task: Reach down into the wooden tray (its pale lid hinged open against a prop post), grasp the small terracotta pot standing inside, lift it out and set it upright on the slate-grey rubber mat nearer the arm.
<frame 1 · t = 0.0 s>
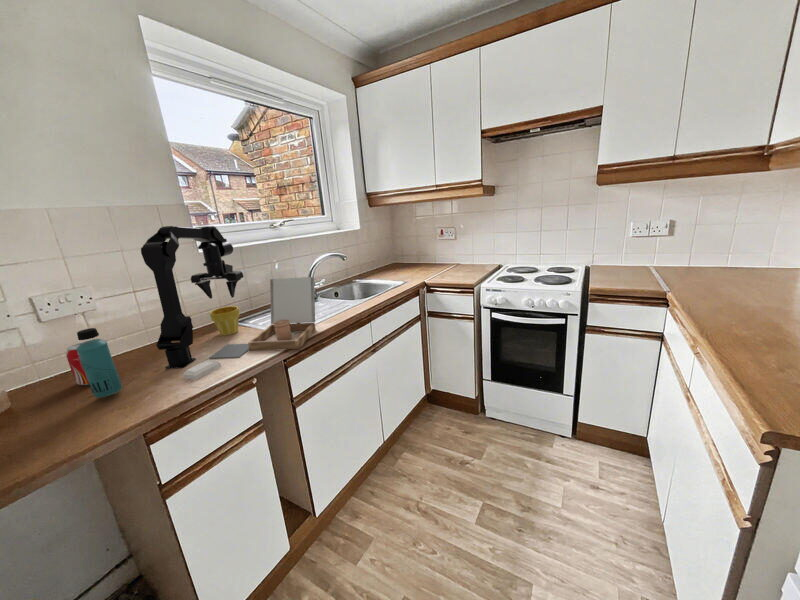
hand: (222, 297, 135), 15 cm above the worktop, fingers open, 9 cm apart
grey mat: (233, 351, 119), on the worktop
frame lid: (292, 300, 135), point 12 cm above the worktop, hinge at 110.0°
soda can: (92, 381, 104), on the worktop
soap bar: (203, 373, 105), on the worktop
wooden tray: (284, 339, 126), on the worktop
clay pot: (283, 330, 125), in the wooden tray
plant pot: (229, 332, 138), on the worktop
prop post: (298, 326, 140), on the worktop
beverage bottle: (110, 397, 94), on the worktop
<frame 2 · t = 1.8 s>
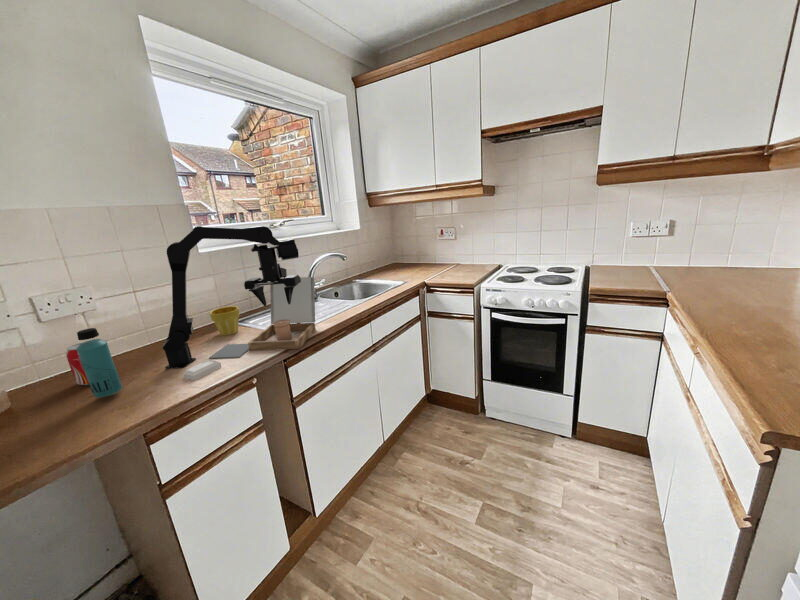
hand: (277, 304, 122), 14 cm above the worktop, fingers open, 9 cm apart
nothing on the worktop moved.
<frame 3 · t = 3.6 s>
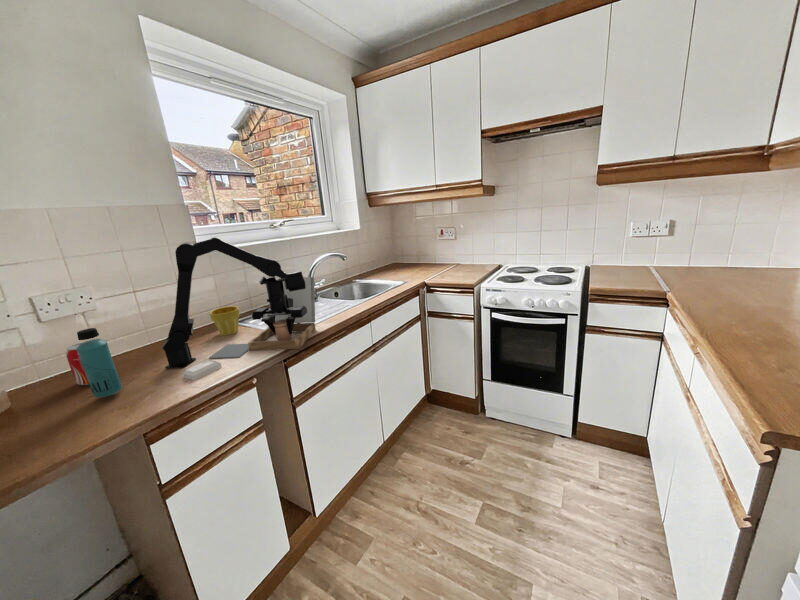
hand: (283, 334, 125), 2 cm above the worktop, fingers closed on clay pot, 5 cm apart
clay pot: (283, 330, 125), in the wooden tray, touching gripper
everything else where it was.
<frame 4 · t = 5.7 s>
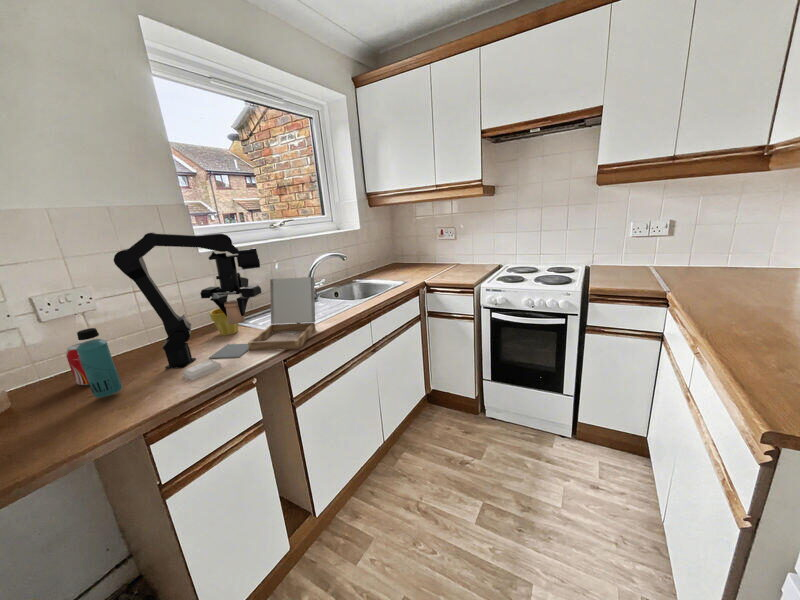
hand: (235, 315, 117), 12 cm above the worktop, fingers closed on clay pot, 5 cm apart
clay pot: (235, 311, 116), point 14 cm above the worktop, touching gripper
everything else where it was.
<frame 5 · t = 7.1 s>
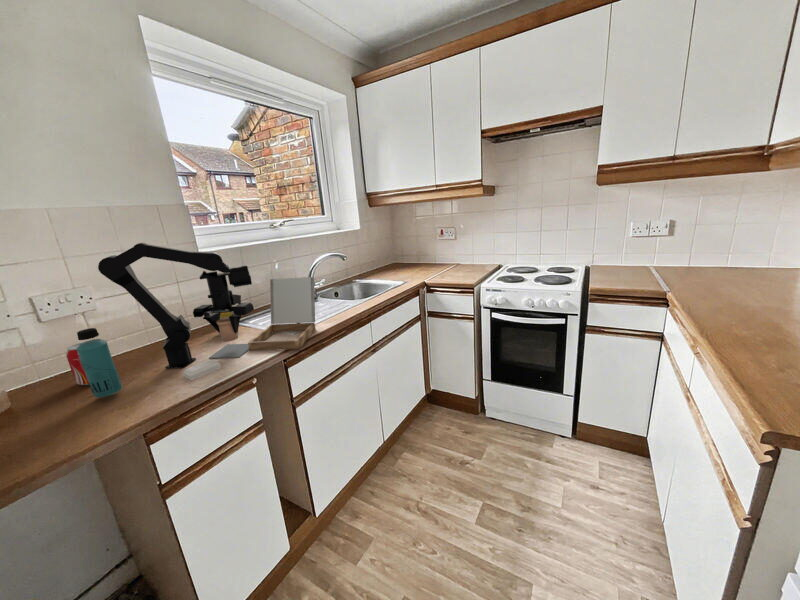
hand: (228, 333, 117), 7 cm above the worktop, fingers closed on clay pot, 5 cm apart
clay pot: (227, 329, 117), point 8 cm above the worktop, touching gripper
everything else where it was.
when the fingers open (3 cm above the worktop, at t = 8.1 s): clay pot drops 1 cm, resting on grey mat.
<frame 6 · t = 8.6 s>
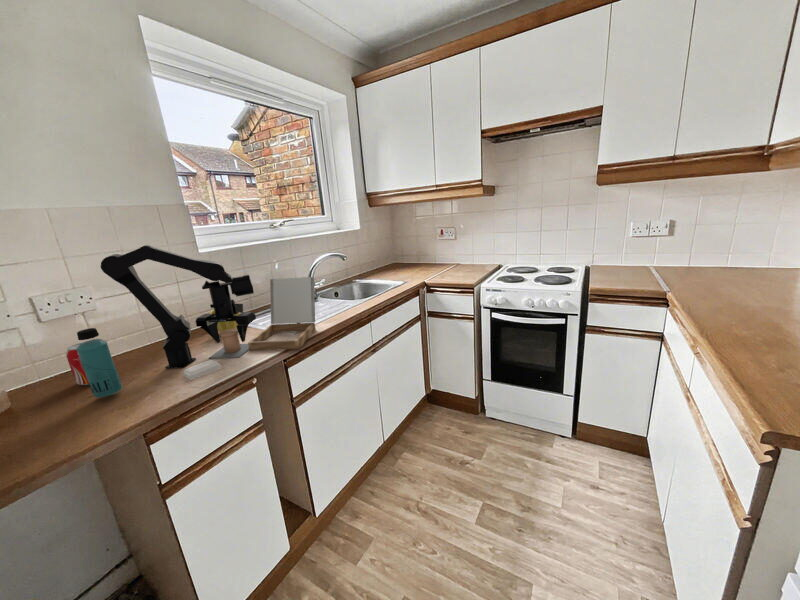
hand: (231, 342, 118), 3 cm above the worktop, fingers open, 9 cm apart
clay pot: (230, 340, 118), on the grey mat
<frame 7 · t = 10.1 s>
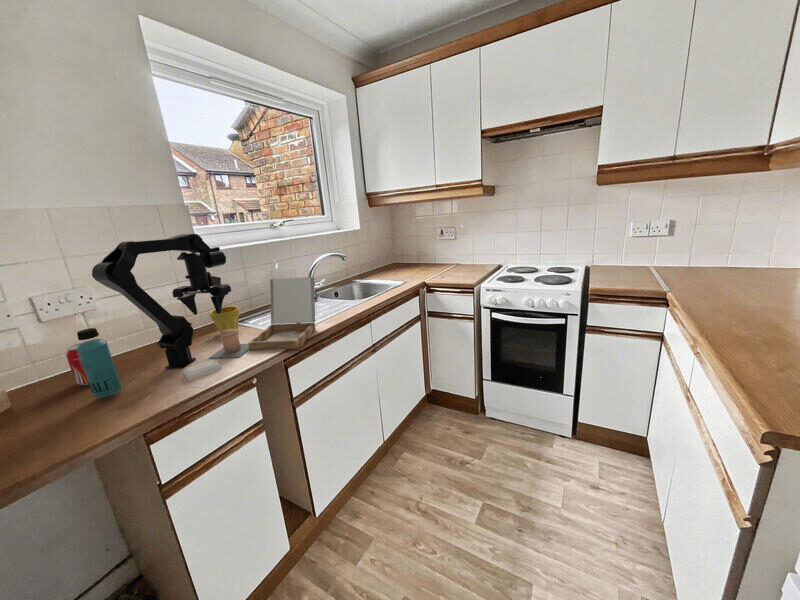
hand: (207, 314, 120), 13 cm above the worktop, fingers open, 9 cm apart
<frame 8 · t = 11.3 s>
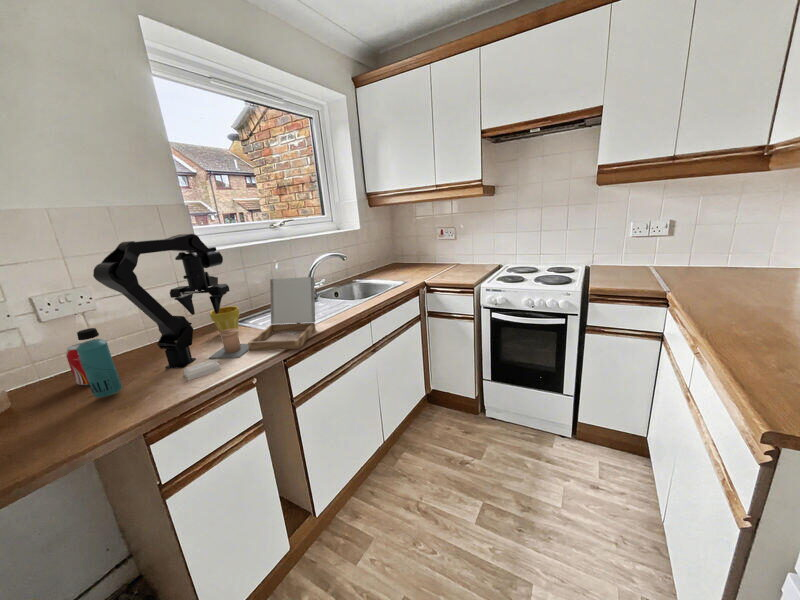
hand: (205, 313, 120), 13 cm above the worktop, fingers open, 9 cm apart
at the end: clay pot inside the target area on the grey mat (0.0 cm from its centre), point 4.0 cm above the grey mat's base; clay pot tilted 1°; the gripper is holding nothing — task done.
